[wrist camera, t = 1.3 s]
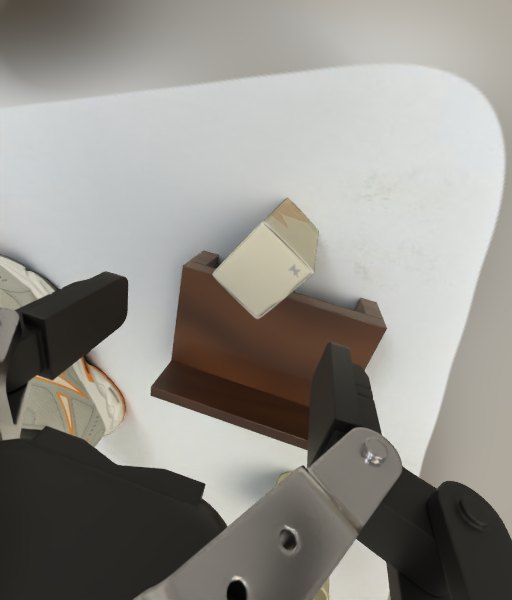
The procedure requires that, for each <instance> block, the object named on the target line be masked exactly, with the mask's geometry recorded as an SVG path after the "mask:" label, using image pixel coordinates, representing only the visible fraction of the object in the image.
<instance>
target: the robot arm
mask: <svg viewBox="0 0 512 600" xmlns="http://www.w3.org/2000/svg"><path fill="white" fill-rule="evenodd" d="M127 311H128V280H127V278H126V277H123V276H120V275H117V274H114V273H110V272H107V271H106V272H103V273H101V274H99V275H97V276H95V277H92V278H90V279H87V280H83V281H78V282H74V283H72V284H69V285H67V286H65V287H63V288H62V289H59V290H57V291H55V292H52V294H48V295H46V296H44V297H42V298H40V299H37V300H35V301H33V302H31V303H29V304H27V305H25V306H22V307H20V308H18V309H16V310H12V309H8V308H2V307H0V600H313V598H314V597H315V595H316V594H317V593H318V591H319V590H320V588H321V587H322V586H323V584H324V583H325V581H326V580H327V579H328V577H329V576H330V574H331V573H332V572H333V570H334V569H335V567H336V566H337V565H338V563H339V562H340V560H341V559H342V558H343V556H344V555H345V553H346V552H347V551H348V549H349V548H350V546H351V545H352V544H353V542H354V541H355V539H357V540H358V541H360V542H361V543H362V544H364V545H365V546H366V547H368V548H369V549H370V550H371V551H373V552H374V553H375V554H377V555H378V556H379V557H381V558H382V559H383V560H385V561H386V563H387V571H388V580H389V588H390V596H391V600H512V540H511V538H510V535H509V533H508V531H507V529H506V527H505V525H504V523H503V521H502V520H501V518H500V517H499V515H498V514H497V513H496V511H495V510H494V509H493V508H492V506H491V505H490V504H489V503H488V502H487V501H485V499H484V498H482V497H481V496H480V495H479V494H478V493H476V492H475V491H473V490H472V489H471V488H469V487H467V486H465V485H463V484H461V483H458V482H454V481H446V482H443V483H442V484H441V485H440V486H439V487H438V488H437V489H436V488H435V487H433V486H431V485H430V484H428V483H427V482H425V481H424V480H422V479H420V478H419V477H417V476H416V475H414V474H412V473H411V472H410V471H408V470H407V469H405V468H404V467H403V466H402V462H401V459H400V456H399V454H398V452H397V451H396V449H395V448H394V446H393V445H392V444H391V443H390V442H389V441H388V440H387V439H386V438H385V437H383V436H382V434H381V429H380V425H379V421H378V416H377V412H376V408H375V403H374V400H373V395H372V391H371V386H370V382H369V377H368V376H367V374H366V373H365V371H364V370H363V369H362V367H361V366H360V365H357V364H354V363H352V358H351V352H350V348H348V347H345V346H342V345H339V344H335V343H332V342H328V344H327V345H326V348H325V350H324V352H323V355H322V357H321V359H320V361H319V364H318V366H317V368H316V371H315V373H314V376H313V379H312V383H311V389H310V412H309V435H308V458H307V469H306V468H305V466H300V467H298V468H297V469H296V470H294V471H293V472H292V473H291V474H290V475H288V476H287V477H286V478H285V479H284V480H283V481H281V482H280V483H279V484H278V485H277V486H275V487H274V488H273V489H272V490H271V491H270V492H268V493H267V494H266V495H265V496H264V497H262V498H261V499H260V500H259V501H258V502H257V503H255V504H254V505H253V506H252V507H251V508H249V509H248V510H247V511H246V512H245V513H244V514H242V515H241V516H240V517H239V518H238V519H236V520H235V521H234V522H233V523H232V524H231V525H229V526H228V527H227V525H226V523H225V522H224V520H223V519H222V518H221V516H220V515H219V514H218V512H217V511H216V510H215V509H214V508H213V507H212V506H211V505H210V504H209V503H207V502H206V501H205V500H203V499H202V496H203V492H204V488H205V484H204V483H202V482H199V481H196V480H193V479H191V478H188V477H185V476H182V475H180V474H177V473H174V472H172V471H169V470H166V469H158V468H145V467H133V466H121V465H117V464H115V463H113V462H112V461H111V460H109V459H108V458H107V457H106V456H104V455H103V454H102V453H100V452H99V451H98V450H97V449H95V448H94V447H93V446H92V445H90V444H89V443H88V442H87V441H85V440H84V439H81V438H79V437H76V436H73V435H70V434H68V433H65V432H62V431H59V430H57V429H54V428H51V427H49V426H45V427H44V428H43V429H42V430H41V431H40V432H39V433H38V434H37V435H36V436H35V437H34V438H20V433H21V429H22V425H23V421H24V416H25V412H26V408H27V404H28V400H29V396H30V391H31V386H32V385H31V379H33V378H34V377H35V376H37V375H38V376H41V377H43V378H46V379H49V380H52V381H53V380H54V379H55V378H57V377H58V376H59V375H60V374H62V373H63V372H64V371H65V370H67V369H68V368H69V367H70V366H72V365H73V364H74V363H75V362H77V361H78V360H79V359H80V358H82V357H83V356H84V355H85V354H87V353H88V352H89V351H90V350H92V349H93V348H94V347H95V346H97V345H98V344H99V343H100V342H102V341H103V340H104V339H105V338H107V337H108V336H109V335H111V334H112V333H113V332H114V331H116V330H117V329H118V328H119V327H120V326H121V325H122V324H123V323H124V321H125V319H126V316H127Z"/></svg>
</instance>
